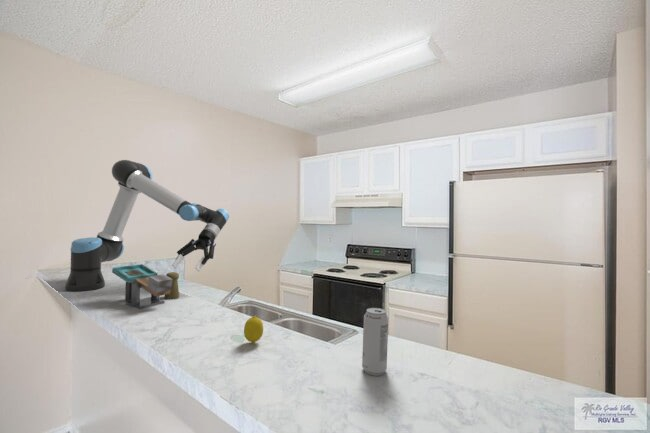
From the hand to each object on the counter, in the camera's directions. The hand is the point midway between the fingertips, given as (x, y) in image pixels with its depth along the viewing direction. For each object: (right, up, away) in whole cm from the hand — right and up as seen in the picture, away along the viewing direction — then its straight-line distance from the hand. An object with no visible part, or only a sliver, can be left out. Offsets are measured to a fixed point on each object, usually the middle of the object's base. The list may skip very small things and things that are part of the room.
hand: (185, 268), depth 147 cm
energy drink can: (+76, -15, -67) cm, 103 cm away
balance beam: (-10, -4, -17) cm, 20 cm away
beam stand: (-11, -11, -16) cm, 23 cm away
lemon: (+43, -14, -53) cm, 70 cm away
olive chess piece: (-3, -12, -7) cm, 14 cm away
